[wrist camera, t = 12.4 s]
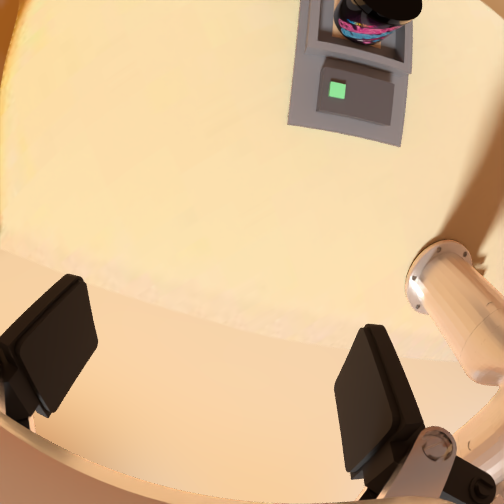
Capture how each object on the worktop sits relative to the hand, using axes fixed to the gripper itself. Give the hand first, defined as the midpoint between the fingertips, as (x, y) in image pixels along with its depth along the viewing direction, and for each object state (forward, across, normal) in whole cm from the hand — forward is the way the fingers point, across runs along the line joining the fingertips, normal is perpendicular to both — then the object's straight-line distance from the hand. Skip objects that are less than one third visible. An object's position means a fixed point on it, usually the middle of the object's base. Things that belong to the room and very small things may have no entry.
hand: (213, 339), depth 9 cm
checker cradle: (+28, -9, -19) cm, 35 cm away
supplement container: (+27, -9, -22) cm, 36 cm away
